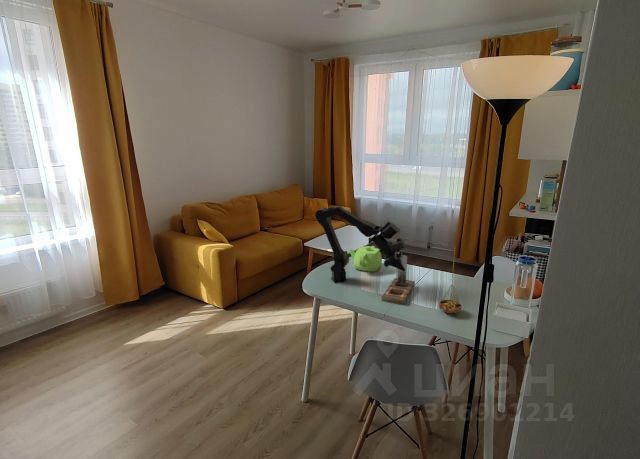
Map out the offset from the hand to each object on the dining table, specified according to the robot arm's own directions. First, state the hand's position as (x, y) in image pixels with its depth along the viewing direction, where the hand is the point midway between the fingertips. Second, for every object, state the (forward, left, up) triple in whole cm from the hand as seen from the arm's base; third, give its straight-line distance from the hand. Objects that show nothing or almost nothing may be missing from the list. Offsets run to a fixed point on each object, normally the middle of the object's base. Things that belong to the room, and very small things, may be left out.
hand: (405, 268), depth 164 cm
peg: (-1, +1, -7) cm, 7 cm away
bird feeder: (+6, -26, -11) cm, 29 cm away
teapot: (-6, +33, -11) cm, 35 cm away
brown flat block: (-5, -3, -11) cm, 12 cm away
